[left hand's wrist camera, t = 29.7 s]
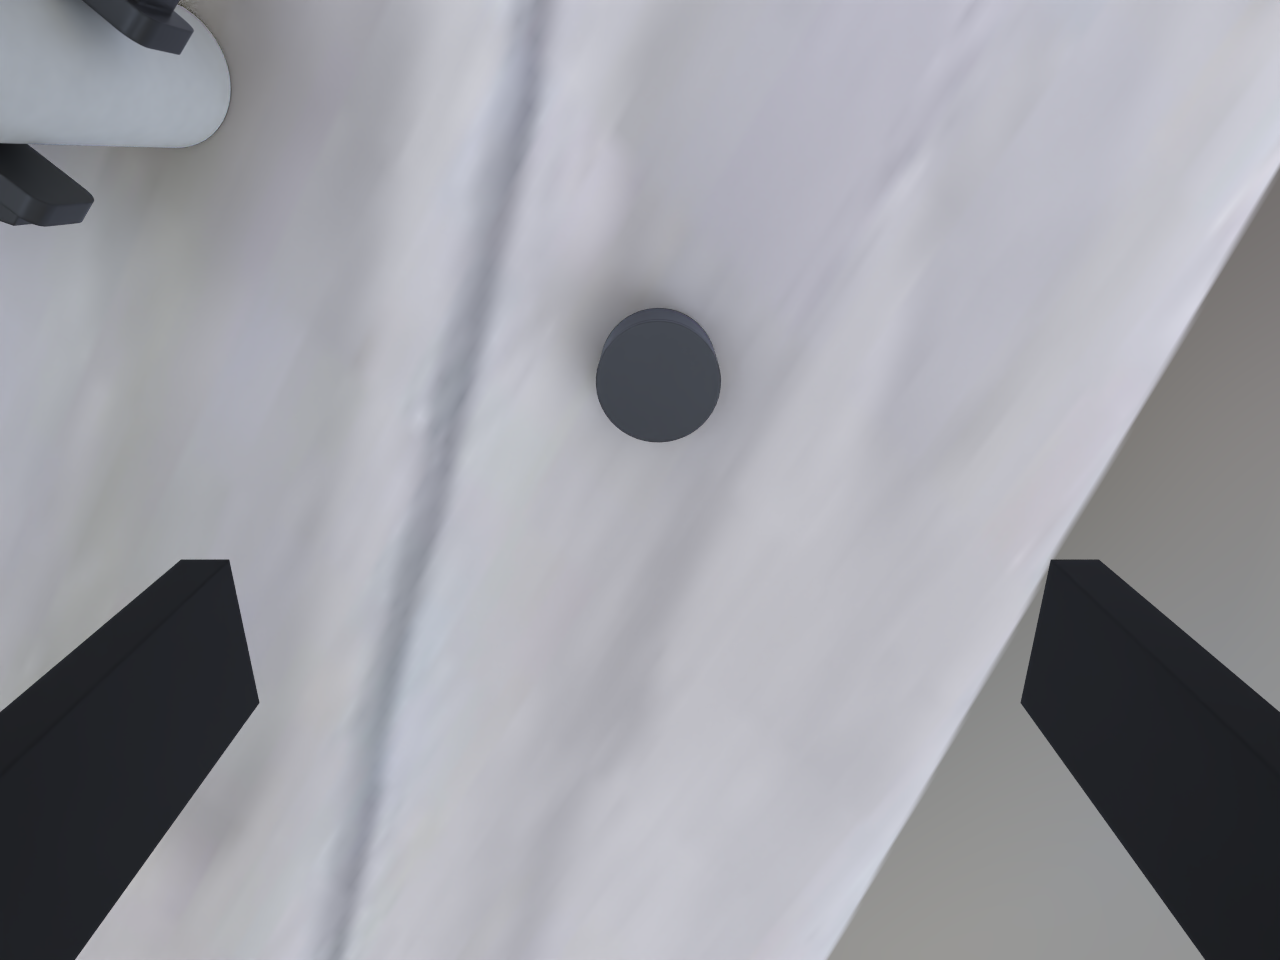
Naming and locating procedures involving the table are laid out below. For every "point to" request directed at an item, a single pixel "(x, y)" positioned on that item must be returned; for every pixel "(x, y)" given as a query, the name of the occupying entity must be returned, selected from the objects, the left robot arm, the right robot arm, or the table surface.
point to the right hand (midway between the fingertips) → (115, 127)
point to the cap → (658, 375)
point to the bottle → (104, 81)
